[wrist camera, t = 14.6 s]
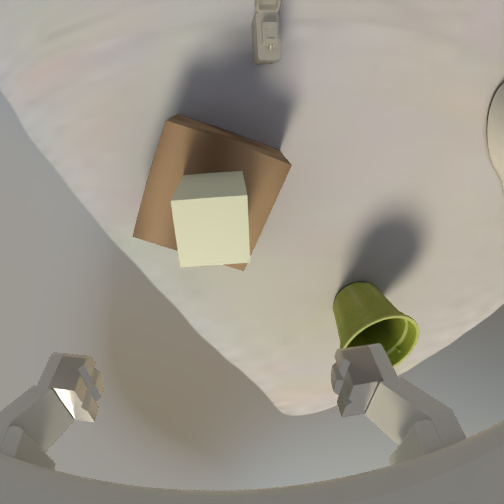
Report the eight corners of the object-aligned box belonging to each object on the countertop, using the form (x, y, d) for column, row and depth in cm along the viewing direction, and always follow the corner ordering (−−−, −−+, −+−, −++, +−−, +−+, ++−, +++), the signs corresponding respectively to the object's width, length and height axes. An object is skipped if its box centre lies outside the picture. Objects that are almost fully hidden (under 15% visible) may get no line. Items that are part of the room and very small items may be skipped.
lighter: (273, 63, 25) (290, 55, 18) (253, 64, 25) (264, 55, 18) (269, -6, 21) (284, -36, 14) (249, -6, 21) (258, -36, 14)
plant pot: (399, 298, 39) (429, 342, 32) (343, 339, 42) (363, 387, 34) (368, 254, 35) (401, 299, 28) (305, 302, 38) (322, 355, 30)
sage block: (242, 171, 24) (247, 195, 19) (244, 225, 26) (250, 262, 21) (183, 175, 24) (170, 200, 18) (189, 229, 26) (180, 267, 20)
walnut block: (279, 150, 29) (291, 165, 24) (240, 239, 33) (243, 270, 28) (177, 114, 27) (166, 120, 21) (147, 209, 31) (132, 236, 26)
